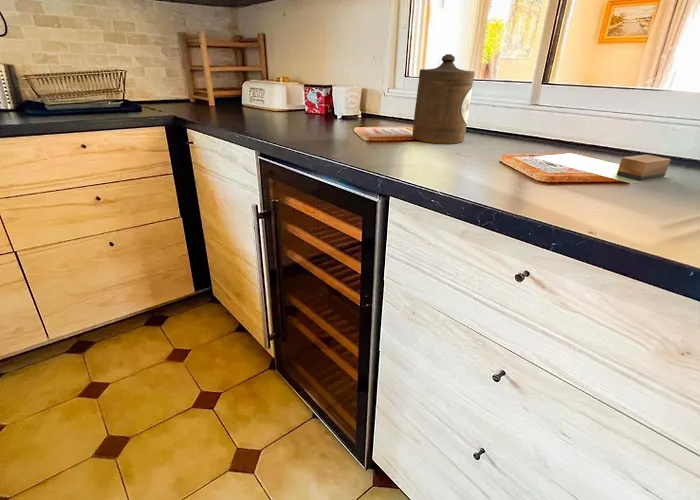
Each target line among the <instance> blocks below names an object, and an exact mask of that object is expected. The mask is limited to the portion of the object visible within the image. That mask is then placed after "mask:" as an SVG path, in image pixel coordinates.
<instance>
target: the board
mask: <svg viewBox="0 0 700 500" xmlns="http://www.w3.org/2000/svg"><path fill="white" fill-rule="evenodd" d="M532 158H533V159H537V160H541V161H543V162H544V161H545V162H548V163H551V164H555V165H560V166H563V167H567V168H571V169H575V170H578V171H582V172H585V173H589V174H594V175H597V176H601V177H604V178H609V179H613V180H616V181H620V182H625V183H627V184H633V183H639V182H641V181H637V180H633V179H629V178H625V177H621V176H617V172H618V169H619V166H620V163H619V164H618V163H614V162H609V161H605V160H601V159H598V158H593V157H587V156H584V155H579V154H575V153H571V152H570V153H562V154H552V155H551V154H550V155H542V156H533V157H532ZM668 177H670V176H669V175H667V174H665V176H664V177H662V178H661V179H663V178H668ZM657 179H659V178H656V179H655V180H657ZM652 180H653V179H650V180H649V181H652ZM645 181H647V180H644V181H643V182H645Z"/></svg>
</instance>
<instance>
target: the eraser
mask: <svg viewBox="0 0 700 500" xmlns="http://www.w3.org/2000/svg"><path fill="white" fill-rule="evenodd" d="M671 160H672V159H671V158H666V157H662V156H657V155H651V154H647V153H646V154H640V155H639V154H637V155H631V156H624V157H623V156H622V157H621V160H620V162H619V165H620V166H619V169H618V172H617V176H621V177H625V178H629V179H633V180H637V181H640V182H645V181H644V180H646V181H651V180H650V179H652V180H657V179H656V178H658V179H663V178H665V177H664V176H665V175H667V174H666V173H667V171H668V169H669V167H670V164H671ZM662 177H663V178H662Z"/></svg>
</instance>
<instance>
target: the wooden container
mask: <svg viewBox="0 0 700 500" xmlns="http://www.w3.org/2000/svg"><path fill="white" fill-rule="evenodd" d="M455 61H456V58H455V56H454V55H453V53H452V54H451V53H450V54H449V53H446V54H445V55H443V56H442V57H441V64H439V66H437V67H435V68H420V69H419V72H418V73H419V74H418V84H417V90H416V91H417V92H416V100H415V108H414V115H413V125H412V126H413V127H412V134H411V135H412V138H413V139H414V140H416V141H419V142H423V143H428V144H429V143H430V144H439V145H440V144H442V145H451V144H461V143H463V142H465V138H466V132H467V127H468V120H469V113H470V105H471V100H472V99H471V98H472V91H473V85H474V84H473V83H474V80H475V74H476V72H475V71H473V70H465V69H460V68H458V67H457V66H456V65H455V64H454V63H455Z"/></svg>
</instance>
